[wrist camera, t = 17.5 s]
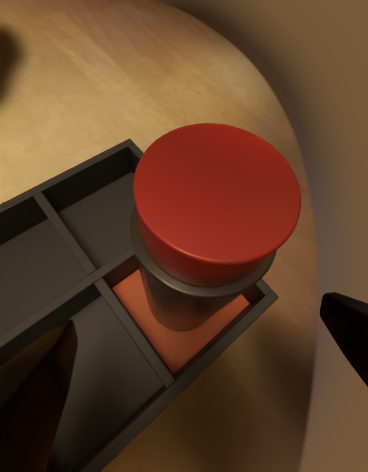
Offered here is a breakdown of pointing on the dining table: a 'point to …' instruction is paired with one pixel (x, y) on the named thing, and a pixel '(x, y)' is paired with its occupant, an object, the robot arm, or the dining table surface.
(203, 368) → the tray
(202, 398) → the dining table surface
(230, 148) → the pepper grinder
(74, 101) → the dining table surface
